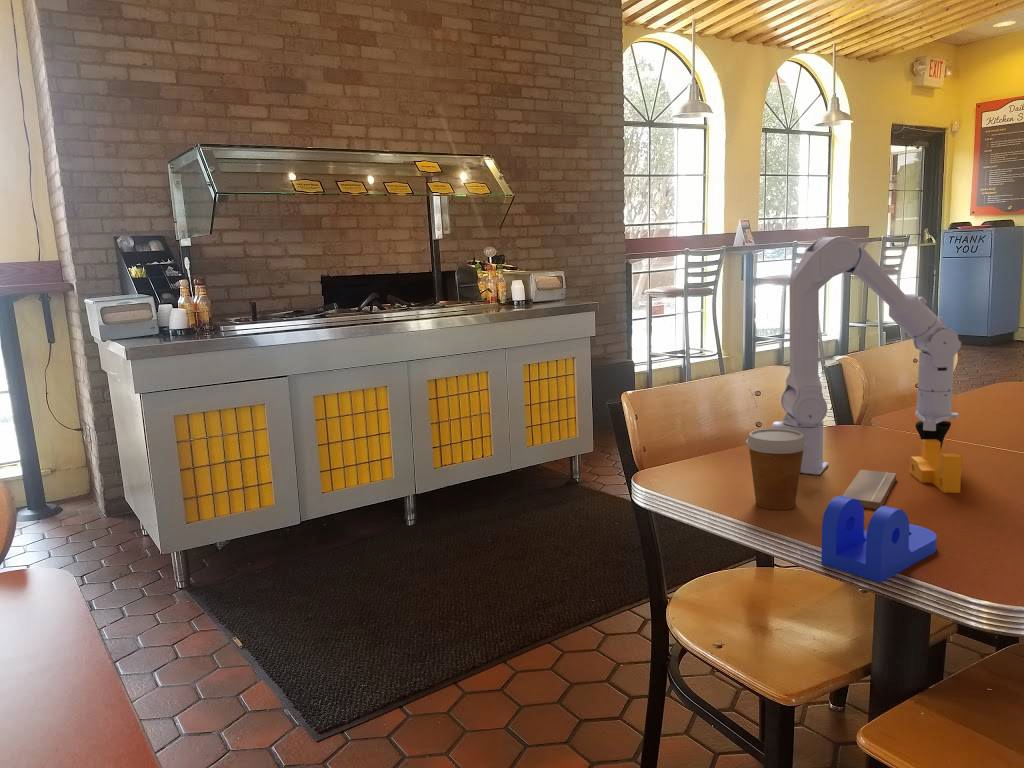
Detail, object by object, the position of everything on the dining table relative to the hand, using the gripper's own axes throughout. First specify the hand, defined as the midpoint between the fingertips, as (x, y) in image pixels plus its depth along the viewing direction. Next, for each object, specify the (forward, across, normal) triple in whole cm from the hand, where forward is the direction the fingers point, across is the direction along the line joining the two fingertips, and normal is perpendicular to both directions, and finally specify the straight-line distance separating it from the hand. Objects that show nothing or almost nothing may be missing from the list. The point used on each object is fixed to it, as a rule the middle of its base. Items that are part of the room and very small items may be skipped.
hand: (931, 459), depth 149 cm
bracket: (+2, -49, +1) cm, 49 cm away
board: (+1, -21, +8) cm, 22 cm away
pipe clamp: (+2, -11, -1) cm, 11 cm away
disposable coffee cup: (+1, -34, +20) cm, 39 cm away
